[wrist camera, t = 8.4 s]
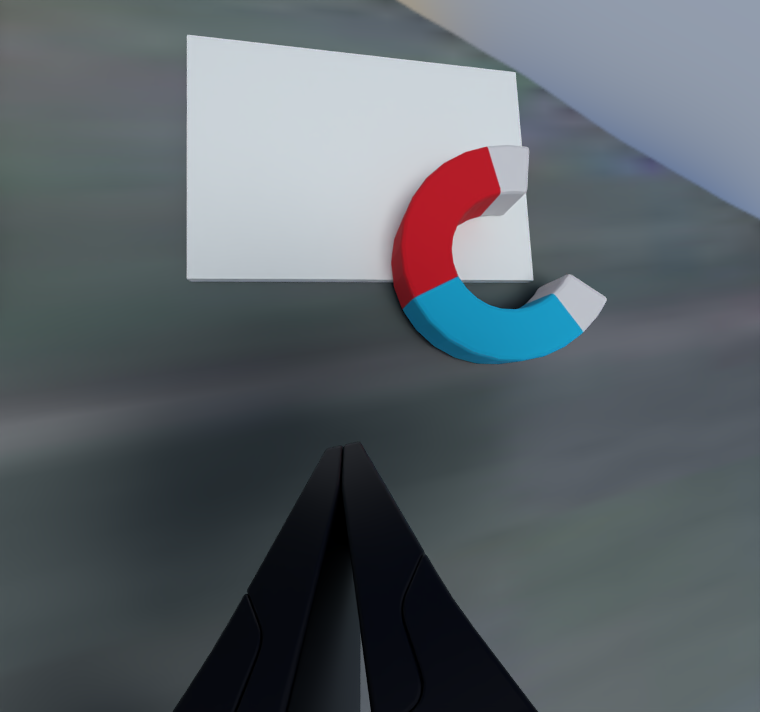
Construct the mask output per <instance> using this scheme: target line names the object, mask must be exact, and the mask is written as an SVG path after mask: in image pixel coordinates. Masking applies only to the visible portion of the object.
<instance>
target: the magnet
mask: <svg viewBox="0 0 760 712" xmlns="http://www.w3.org/2000/svg"><path fill="white" fill-rule="evenodd" d="M528 163H529V148H528V147H523V146H514V145H499V146H486V147H482V148H479V149H475V150H471V151H467V152H464V153H462V154H461V155H459V156H457V157H455V158H453V159H451V160H449V161H447V162H445V163H443V164H442V165H441V166H440V167H439V168H437V169H436V170H435V171H434V172H433V173H432V174H430V175H429V176H428V177H427V178H426V179H425V180H424V182H423V183H422V185H421V186H420V187H419V189H418V190H417V191H416V193H415V194H414V196H413V197H412V199H411V201H410V203H409V206H408V208H407V210H406V212H405V214H404V217H403V219H402V221H401V224H400V226H399V229H398V231H397V234H396V236H395V239H394V244H393V252H392V260H391V266H392V274H393V283H394V288H395V291H396V294H397V296H398V299H399V302H400V305H401V307H402V310H403V311H404V313H405V314H406V316H407V317H408V319H409V320H410V321H411V323H412V324H413V326H414V327H415V329H416V330H417V331H418V332H419V333H420V334H421V335H422V336H424V337H425V338H426V339H427V340H428V341H429V342H430V343H431V344H432V345H433V346H435V347H437V348H438V349H440V350H442V351H444V352H446V353H447V354H449V355H451V356H453V357H455V358H458V359H462V360H466V361H469V362H473V363H477V364H503V363H511V362H518V361H524V360H529V359H534V358H539V357H544V356H546V355H548V354H550V353H552V352H555V351H557V350H559V349H561V348H563V347H565V346H566V345H568V344H569V343H570V342H571V341H573V340H574V339H575V338H577V337H578V336H579V335H581V334H582V333H583V332H584V331H585V330H586V329H587V327H588V326H589V325H590V324H591V323H592V322H593V321H594V320H595V318H596V317H597V316H598V314H599V313H600V311H601V309H602V308H603V306H604V304H605V303H606V301H607V298H606V297H605V296H603V295H602V294H600V293H599V292H597V291H595V290H594V289H592V288H591V287H589V286H588V285H586V284H585V283H583V282H582V281H580V280H579V279H577V278H575V277H574V276H572V275H570V274H567V275H565V276H563V277H561V278H559V279H556V280H554V281H552V282H550V283H548V284H546V285H543V286H541V287H540V288H538V290H537V291H536V293H535V295H534V296H533V297H532V298H531V299H530V300H529V301H528V302H527V303H526V304H525V305H524V306H522V307H521V308H519V309H501V308H498V307H494V306H491V305H488V304H487V303H485V302H483V301H481V300H480V299H478V298H477V297H475V296H474V295H473V294H472V293H471V292H470V291H469V290H468V289H467V288H466V287H465V285H464V284H463V282H462V281H461V279H460V278H459V276H458V274H457V271H456V268H455V265H454V263H453V255H452V244H453V236H454V233H455V231H456V228H457V226H458V225H460V224H462V223H463V222H465V221H467V220H469V219H473V218H476V217H479V216H488V215H496V216H501V215H504V214H505V213H506V212H507V211H508V210H509V209H510V208H511V207H512V206H513V205H514V204H515V203H516V202H517V201H518V200H519V199H520V198H521V197H522V196H523V195H524V194H525V193H526V191H527V183H528Z"/></svg>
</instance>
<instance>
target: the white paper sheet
mask: <svg viewBox="0 0 760 712" xmlns="http://www.w3.org/2000/svg"><path fill="white" fill-rule="evenodd" d="M499 145H514V146H522V143H521V131H520V119H519V108H518V96H517V85H516V73H515V72H508V71H499V70H490V69H482V68H473V67H464V66H456V65H447V64H438V63H429V62H421V61H412V60H403V59H395V58H386V57H377V56H368V55H360V54H351V53H342V52H333V51H325V50H316V49H307V48H299V47H290V46H281V45H272V44H264V43H255V42H246V41H238V40H229V39H220V38H211V37H203V36H194V35H187V279H188V280H189V281H190V282H393V274H392V266H391V260H392V252H393V244H394V239H395V236H396V234H397V231H398V229H399V226H400V224H401V221H402V219H403V217H404V214H405V212H406V210H407V208H408V206H409V203H410V201H411V199H412V197H413V196H414V194H415V193H416V191H417V190H418V189H419V187H420V186H421V185H422V183H423V182H424V180H425V179H426V178H427V177H428V176H429V175H430V174H432V173H433V172H434V171H435V170H436V169H437V168H439V167H440V166H441V165H442V164H443V163H445V162H447V161H449V160H451V159H453V158H455V157H457V156H459V155H461V154H462V153H464V152H467V151H471V150H475V149H479V148H482V147H486V146H499ZM452 255H453V263H454V265H455V268H456V271H457V274H458V276H459V278H460V279H461V281H462V282H466V283H529V282H531V281H533V270H532V258H531V247H530V235H529V224H528V212H527V200H526V193H525V194H524V195H523V196H522V197H521V198H520V199H519V200H518V201H517V202H516V203H515V204H514V205H513V206H512V207H511V208H510V209H509V210H508V211H507V212H506V213H505V214H504V215H501V216H496V215H488V216H479V217H476V218H473V219H469V220H467V221H465V222H463V223H462V224H460V225H458V226H457V228H456V231H455V233H454V236H453V244H452Z"/></svg>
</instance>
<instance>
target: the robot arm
mask: <svg viewBox="0 0 760 712" xmlns="http://www.w3.org/2000/svg"><path fill="white" fill-rule="evenodd" d="M247 593H248V594H245V595H244V596H243V598H242V600H241V602H240V603H239V605H238V607H237V609H236V610H235V612H234V614H233V616H232V617H231V619H230V621H229V623H228V624H227V626H226V628H225V629H224V631H223V633H222V634H221V636H220V638H219V640H218V641H217V643H216V645H215V646H214V648H213V650H212V651H211V653H210V654H209V656H208V658H207V659H206V661H205V662H204V664H203V665H202V667H201V669H200V670H199V672H198V673H197V675H196V676H195V678H194V680H193V681H192V683H191V684H190V686H189V687H188V689H187V690H186V692H185V693H184V695H183V697H182V698H181V700H180V701H179V703H178V704H177V706H176V707H175V709H174V710H173V712H360V632H361V640H362V647H363V655H364V662H365V670H366V677H367V685H368V692H369V700H370V707H371V712H538V711H537V710H536V709H535V707H534V706H533V705H532V703H531V702H530V701H529V699H528V698H527V697H526V695H525V694H524V693H523V692H522V690H521V689H520V688H519V686H518V685H517V684H516V682H515V681H514V680H513V678H512V677H511V676H510V674H509V673H508V672H507V670H506V669H505V668H504V667H503V665H502V664H501V663H500V661H499V660H498V659H497V657H496V656H495V655H494V653H493V652H492V651H491V649H490V648H489V647H488V645H487V644H486V643H485V642H484V640H483V639H482V638H481V636H480V635H479V634H478V632H477V631H476V630H475V628H474V627H473V626H472V624H471V623H470V621H469V620H468V619H467V617H466V616H465V614H464V613H463V612H462V610H461V609H460V607H459V606H458V605H457V603H456V602H455V600H454V599H453V598H452V596H451V594H450V593H449V591H448V590H447V588H446V586H445V585H444V583H443V582H442V580H441V578H440V577H439V575H438V574H437V572H436V570H435V569H434V567H433V565H432V563H431V562H430V560H429V558H428V557H427V555H425V552H424V550H423V548H422V547H421V545H420V543H419V542H418V540H417V538H416V536H415V535H414V533H413V531H412V530H411V528H410V526H409V524H408V523H407V521H406V519H405V518H404V516H403V514H402V512H401V511H400V509H399V507H398V506H397V504H396V502H395V500H394V499H393V497H392V495H391V494H390V492H389V490H388V489H387V487H386V485H385V483H384V482H383V480H382V478H381V477H380V475H379V473H378V471H377V470H376V468H375V466H374V465H373V463H372V461H371V459H370V458H369V456H368V454H367V453H366V451H365V449H364V447H363V446H362V444H361V443H360V442H354V443H350V444H346V445H345V446H344V447H343V446H336V447H332V448H328V449H327V450H326V451H325V452H324V454H323V456H322V458H321V459H320V461H319V463H318V465H317V466H316V468H315V470H314V472H313V474H312V475H311V477H310V479H309V481H308V482H307V484H306V486H305V488H304V490H303V491H302V493H301V495H300V497H299V499H298V500H297V502H296V504H295V506H294V507H293V509H292V511H291V513H290V515H289V516H288V518H287V520H286V522H285V523H284V525H283V527H282V529H281V531H280V532H279V534H278V536H277V538H276V539H275V541H274V543H273V545H272V547H271V548H270V550H269V552H268V554H267V556H266V557H265V559H264V561H263V563H262V564H261V566H260V568H259V570H258V572H257V573H256V575H255V577H254V579H253V580H252V582H251V584H250V586H249V588H248V589H247Z"/></svg>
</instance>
